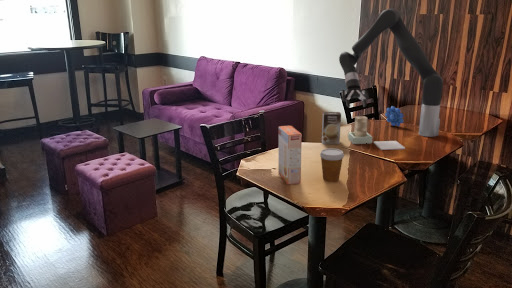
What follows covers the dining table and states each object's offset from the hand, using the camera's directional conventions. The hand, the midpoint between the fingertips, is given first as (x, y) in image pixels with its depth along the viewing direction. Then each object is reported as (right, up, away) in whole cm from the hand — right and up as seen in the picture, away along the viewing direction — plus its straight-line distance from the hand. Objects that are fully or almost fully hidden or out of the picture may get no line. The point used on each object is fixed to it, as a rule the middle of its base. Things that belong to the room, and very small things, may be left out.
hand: (357, 106), depth 213 cm
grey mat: (+13, -21, -12) cm, 28 cm away
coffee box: (-15, -20, -5) cm, 25 cm away
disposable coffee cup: (-24, -35, -53) cm, 68 cm away
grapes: (+28, -10, +23) cm, 38 cm away
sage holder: (+1, -19, -3) cm, 19 cm away
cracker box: (-41, -35, -50) cm, 73 cm away
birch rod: (+1, -19, -3) cm, 19 cm away
